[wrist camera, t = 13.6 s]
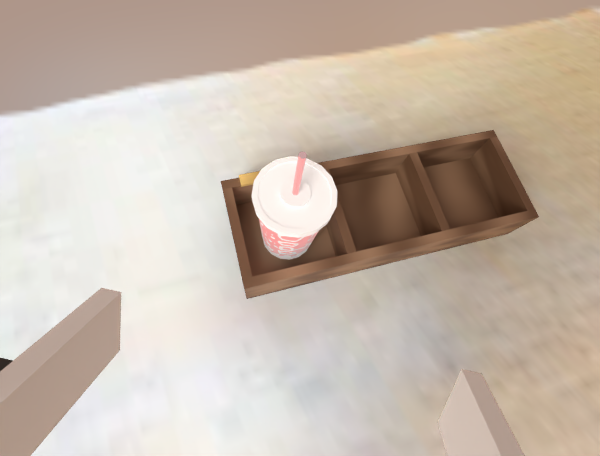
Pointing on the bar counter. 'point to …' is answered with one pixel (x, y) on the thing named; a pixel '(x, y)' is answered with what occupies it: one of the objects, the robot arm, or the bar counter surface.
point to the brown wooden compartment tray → (389, 210)
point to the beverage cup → (292, 204)
